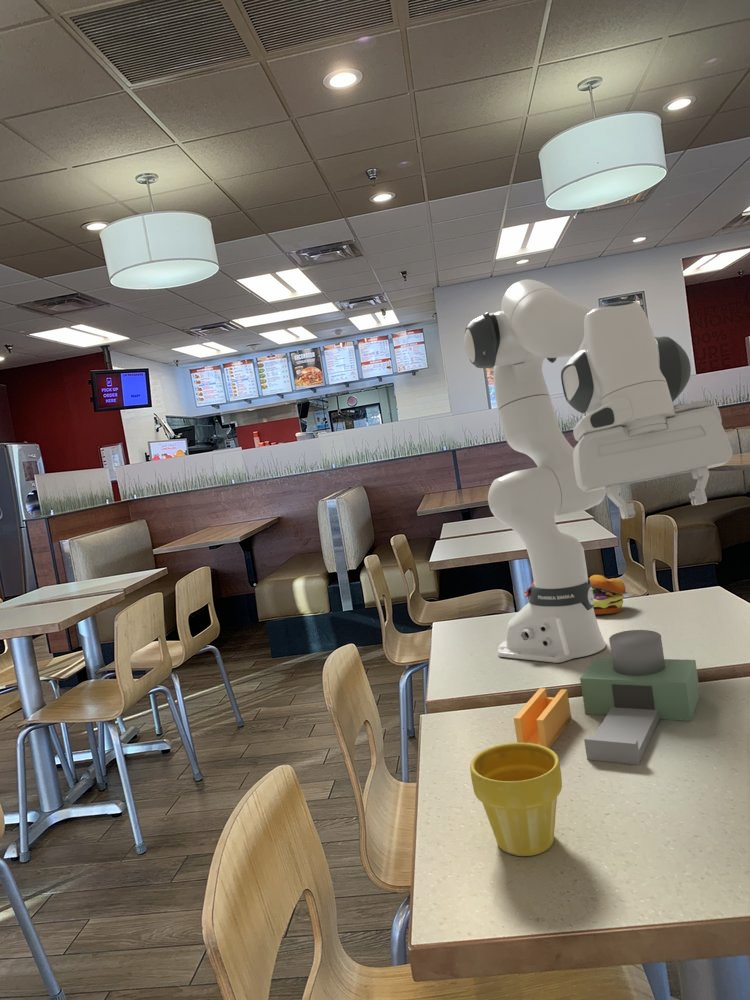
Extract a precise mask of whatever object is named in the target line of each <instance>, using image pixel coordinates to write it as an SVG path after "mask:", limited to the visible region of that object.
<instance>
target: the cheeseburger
mask: <svg viewBox="0 0 750 1000" xmlns="http://www.w3.org/2000/svg"><path fill="white" fill-rule="evenodd" d="M588 579H590V581H591V587H592V590H593V596H594V606H593V608H594V612H595V616H596V615H608V614H610V615H611V614H618V613H619V612H621V611H622V609H623V604H624V595H626V594H627V593H628V592H627V591H626V586H625V583H624V581H622V580H621V579H619V578H613V577H612V578H609V579H608V578H607V577H605V576H603V575H602V574H593V575H591V576H590V577H588Z"/></svg>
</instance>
